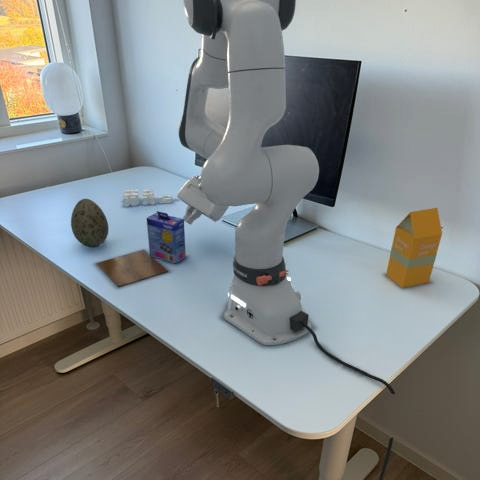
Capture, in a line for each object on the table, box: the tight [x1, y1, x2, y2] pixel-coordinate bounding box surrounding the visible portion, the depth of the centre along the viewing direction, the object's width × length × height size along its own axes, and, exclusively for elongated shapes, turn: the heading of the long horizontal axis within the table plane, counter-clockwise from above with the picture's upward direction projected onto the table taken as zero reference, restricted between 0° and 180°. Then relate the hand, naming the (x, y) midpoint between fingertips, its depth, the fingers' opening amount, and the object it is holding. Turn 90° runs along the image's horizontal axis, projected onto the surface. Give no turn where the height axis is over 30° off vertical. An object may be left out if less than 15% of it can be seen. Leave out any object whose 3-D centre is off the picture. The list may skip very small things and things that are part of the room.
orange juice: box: [385, 207, 443, 289], centre depth 122 cm, size 8×9×20 cm
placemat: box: [96, 249, 169, 288], centre depth 133 cm, size 15×16×1 cm
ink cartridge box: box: [146, 210, 187, 264], centre depth 134 cm, size 10×6×14 cm, turn 63°
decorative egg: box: [70, 198, 109, 248], centre depth 141 cm, size 11×11×15 cm
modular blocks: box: [122, 188, 173, 208], centre depth 175 cm, size 20×7×4 cm, turn 101°
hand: (186, 222), depth 136 cm, fingers closed
